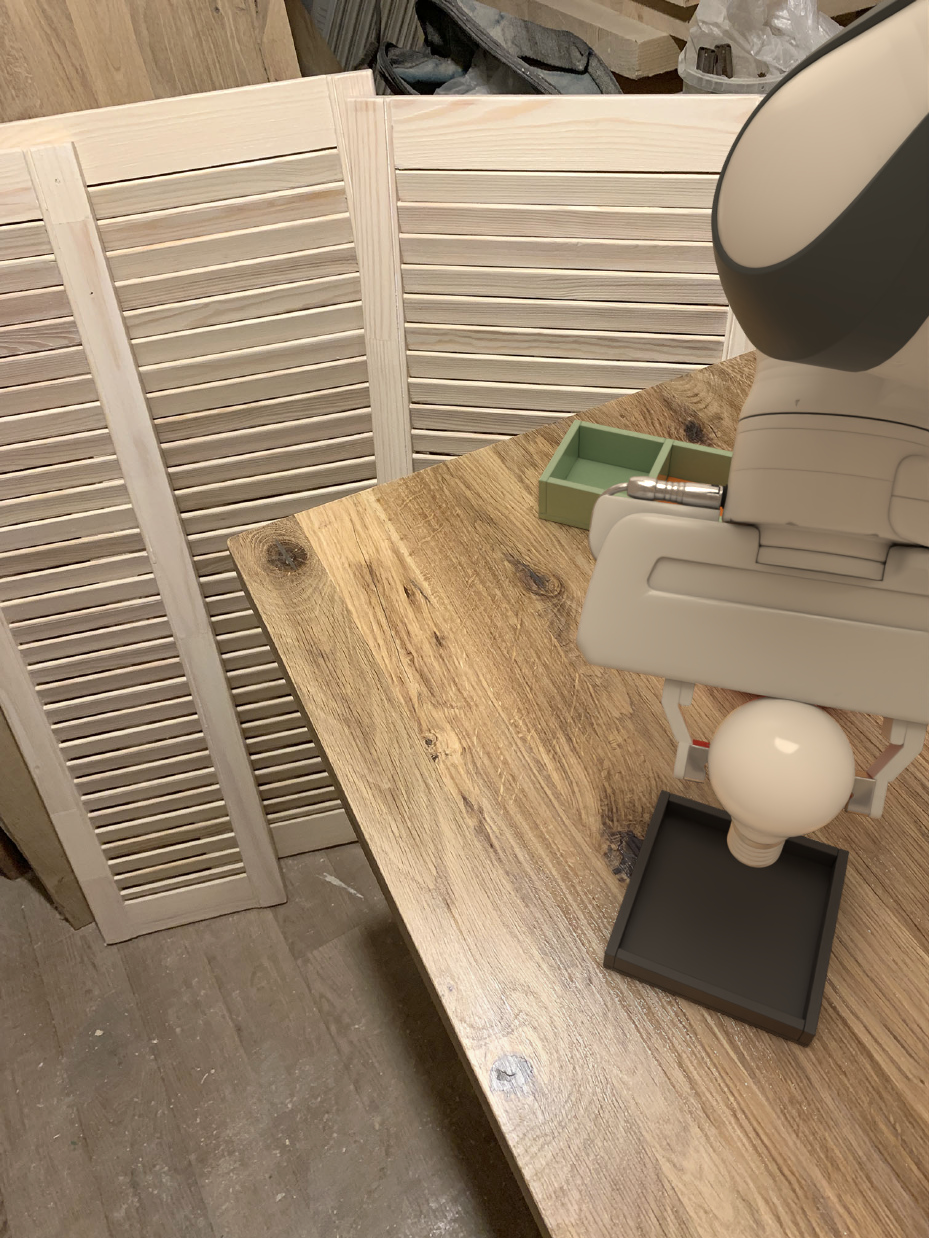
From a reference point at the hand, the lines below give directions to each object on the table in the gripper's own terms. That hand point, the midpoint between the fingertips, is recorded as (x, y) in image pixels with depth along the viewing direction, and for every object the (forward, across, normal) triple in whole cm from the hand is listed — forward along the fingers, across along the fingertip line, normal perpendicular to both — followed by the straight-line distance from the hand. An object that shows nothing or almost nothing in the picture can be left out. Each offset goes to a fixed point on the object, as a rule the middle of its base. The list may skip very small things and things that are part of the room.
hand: (773, 796), depth 43 cm
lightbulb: (+4, 0, +5) cm, 6 cm away
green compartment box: (-15, -6, +34) cm, 38 cm away
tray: (+9, 0, +10) cm, 14 cm away
